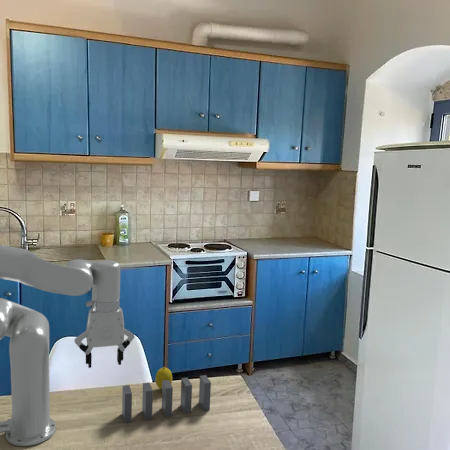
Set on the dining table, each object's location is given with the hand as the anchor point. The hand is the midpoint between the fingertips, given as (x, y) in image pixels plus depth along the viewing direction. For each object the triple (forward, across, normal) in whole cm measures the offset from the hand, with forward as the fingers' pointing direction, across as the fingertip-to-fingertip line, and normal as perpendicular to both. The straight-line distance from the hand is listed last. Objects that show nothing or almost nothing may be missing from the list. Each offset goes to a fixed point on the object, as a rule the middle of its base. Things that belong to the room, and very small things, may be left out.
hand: (104, 364), depth 130 cm
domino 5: (+17, +31, 0) cm, 35 cm away
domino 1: (+18, +7, 0) cm, 19 cm away
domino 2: (+18, +13, 0) cm, 22 cm away
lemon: (+18, +21, +13) cm, 30 cm away
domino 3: (+18, +19, 0) cm, 26 cm away
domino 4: (+17, +25, 0) cm, 30 cm away
